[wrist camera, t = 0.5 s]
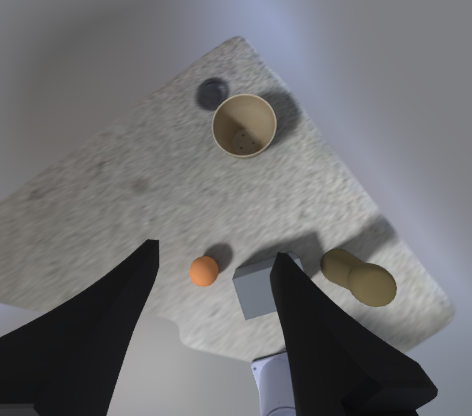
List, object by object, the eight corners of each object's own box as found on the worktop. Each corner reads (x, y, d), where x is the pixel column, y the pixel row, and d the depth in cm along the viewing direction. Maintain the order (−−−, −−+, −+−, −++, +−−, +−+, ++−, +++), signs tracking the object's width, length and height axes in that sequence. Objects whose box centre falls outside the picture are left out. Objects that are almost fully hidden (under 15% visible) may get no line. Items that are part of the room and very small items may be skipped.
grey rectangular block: (303, 285, 34) (314, 299, 28) (246, 302, 34) (245, 320, 28) (291, 251, 34) (299, 258, 28) (235, 268, 35) (232, 279, 29)
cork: (315, 254, 34) (345, 272, 23) (348, 244, 33) (395, 256, 22) (327, 287, 33) (364, 322, 22) (361, 277, 33) (415, 307, 22)
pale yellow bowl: (253, 107, 36) (253, 80, 29) (282, 149, 35) (289, 132, 28) (209, 136, 37) (199, 117, 30) (237, 179, 36) (233, 169, 29)
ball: (224, 276, 35) (219, 286, 30) (199, 284, 35) (190, 295, 30) (215, 250, 35) (209, 255, 30) (191, 258, 36) (181, 265, 31)
